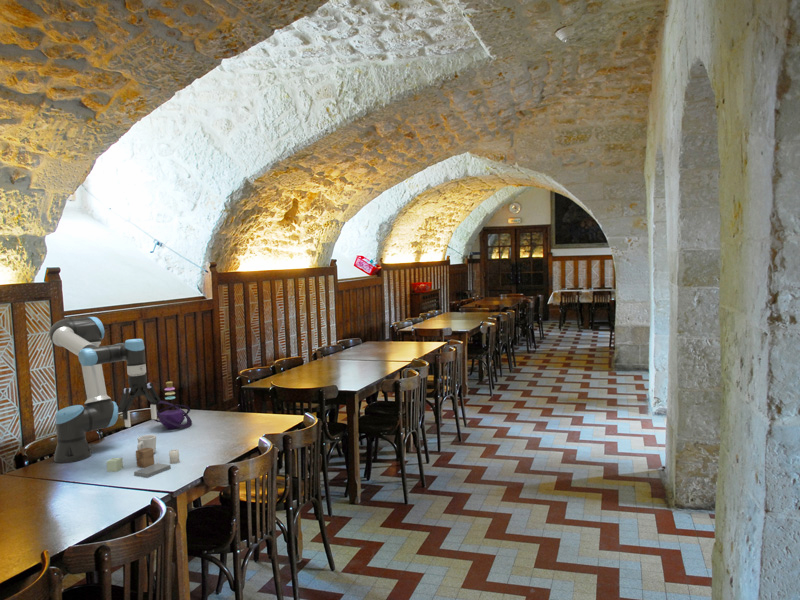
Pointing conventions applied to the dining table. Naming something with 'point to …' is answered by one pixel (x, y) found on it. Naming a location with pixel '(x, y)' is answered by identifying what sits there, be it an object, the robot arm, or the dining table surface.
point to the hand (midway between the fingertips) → (141, 423)
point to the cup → (147, 442)
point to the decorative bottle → (173, 412)
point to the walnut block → (144, 457)
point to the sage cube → (114, 464)
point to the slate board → (152, 470)
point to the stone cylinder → (174, 456)
